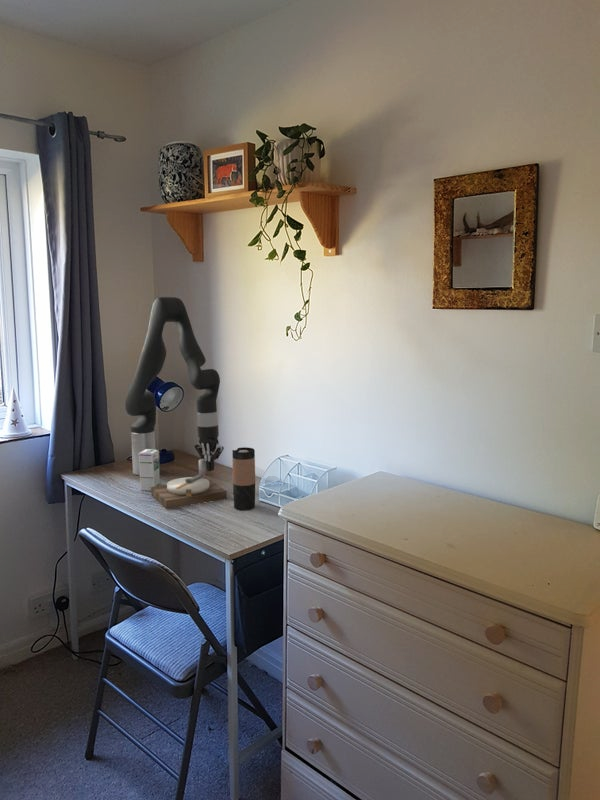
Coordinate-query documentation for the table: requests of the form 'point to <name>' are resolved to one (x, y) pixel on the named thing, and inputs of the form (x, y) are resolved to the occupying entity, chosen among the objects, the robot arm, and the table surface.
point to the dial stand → (187, 496)
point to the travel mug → (244, 478)
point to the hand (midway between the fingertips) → (210, 470)
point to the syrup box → (149, 469)
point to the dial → (190, 482)
